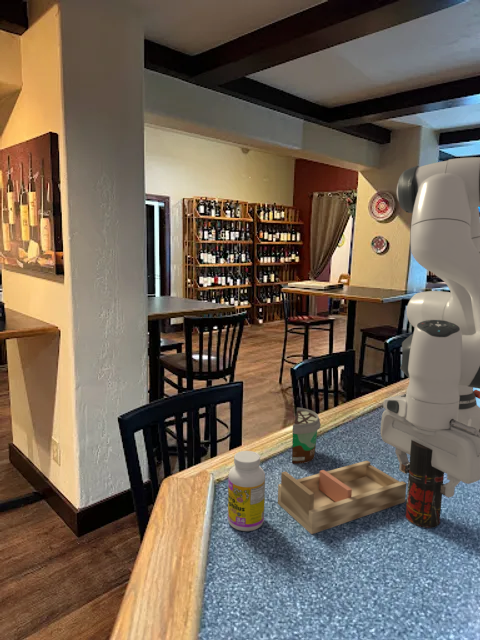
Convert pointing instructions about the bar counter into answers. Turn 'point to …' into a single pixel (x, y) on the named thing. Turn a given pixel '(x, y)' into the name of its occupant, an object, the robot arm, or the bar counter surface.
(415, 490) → the deodorant
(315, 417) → the food container
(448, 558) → the bar counter surface
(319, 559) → the bar counter surface
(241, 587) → the bar counter surface
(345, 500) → the tray
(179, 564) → the bar counter surface
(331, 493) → the plate
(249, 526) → the supplement bottle
